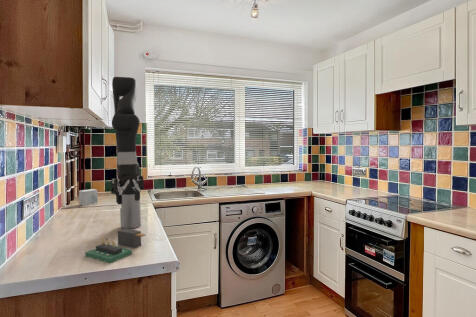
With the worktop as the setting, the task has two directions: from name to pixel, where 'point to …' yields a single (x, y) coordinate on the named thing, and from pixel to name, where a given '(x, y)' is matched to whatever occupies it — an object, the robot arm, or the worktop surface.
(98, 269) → the worktop surface
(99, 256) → the header board
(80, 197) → the skincare box
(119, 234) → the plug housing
